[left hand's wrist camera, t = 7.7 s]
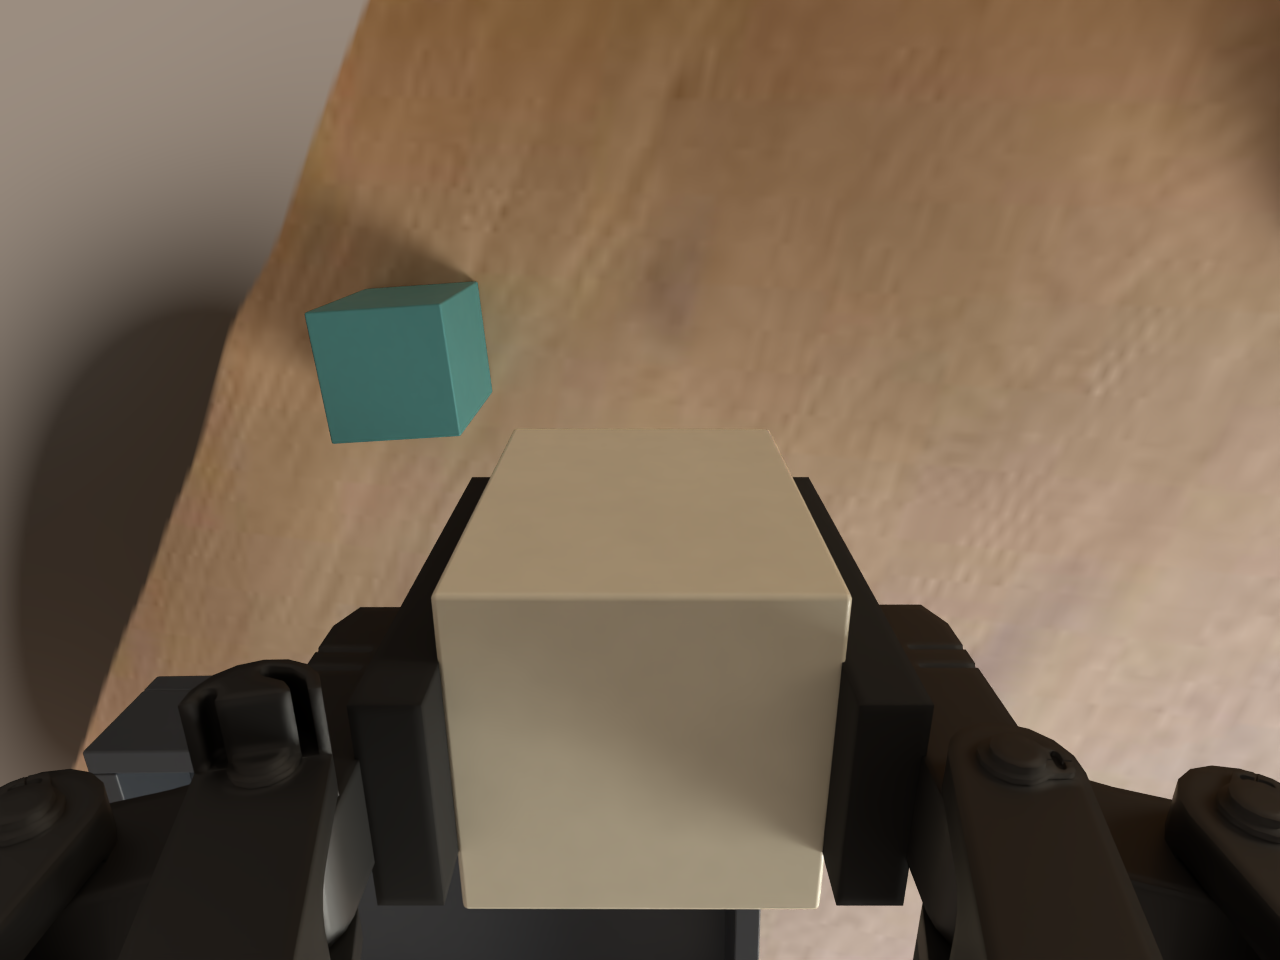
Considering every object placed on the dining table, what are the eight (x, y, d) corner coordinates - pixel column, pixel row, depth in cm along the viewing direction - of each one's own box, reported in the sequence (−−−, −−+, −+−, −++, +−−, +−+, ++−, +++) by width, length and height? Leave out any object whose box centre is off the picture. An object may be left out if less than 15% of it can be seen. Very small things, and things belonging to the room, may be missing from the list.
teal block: (364, 288, 32) (303, 312, 26) (477, 280, 32) (440, 303, 26) (385, 399, 33) (331, 444, 28) (492, 392, 33) (460, 436, 28)
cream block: (513, 427, 14) (429, 594, 8) (770, 428, 14) (854, 595, 8) (526, 647, 16) (461, 911, 10) (756, 648, 16) (820, 911, 10)
